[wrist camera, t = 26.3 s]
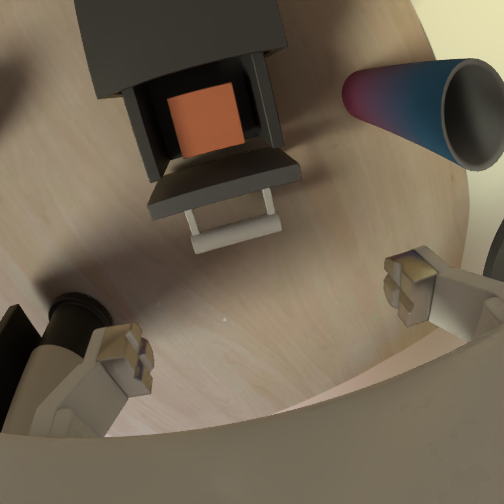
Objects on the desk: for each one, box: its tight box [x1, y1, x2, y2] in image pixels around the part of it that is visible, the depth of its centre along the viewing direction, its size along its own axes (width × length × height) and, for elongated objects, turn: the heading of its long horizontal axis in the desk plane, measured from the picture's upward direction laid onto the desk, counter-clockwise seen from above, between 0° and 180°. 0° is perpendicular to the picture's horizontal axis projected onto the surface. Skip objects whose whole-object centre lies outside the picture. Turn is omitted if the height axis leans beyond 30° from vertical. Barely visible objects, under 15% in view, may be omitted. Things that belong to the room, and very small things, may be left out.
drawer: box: [121, 52, 302, 254], centre depth 22 cm, size 18×10×7 cm, turn 13°
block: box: [167, 82, 245, 159], centre depth 22 cm, size 4×4×4 cm
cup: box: [342, 58, 504, 171], centre depth 20 cm, size 7×7×15 cm
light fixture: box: [0, 292, 113, 435], centre depth 23 cm, size 12×11×25 cm
